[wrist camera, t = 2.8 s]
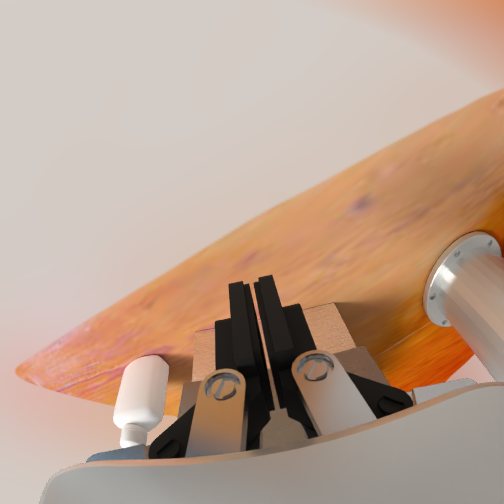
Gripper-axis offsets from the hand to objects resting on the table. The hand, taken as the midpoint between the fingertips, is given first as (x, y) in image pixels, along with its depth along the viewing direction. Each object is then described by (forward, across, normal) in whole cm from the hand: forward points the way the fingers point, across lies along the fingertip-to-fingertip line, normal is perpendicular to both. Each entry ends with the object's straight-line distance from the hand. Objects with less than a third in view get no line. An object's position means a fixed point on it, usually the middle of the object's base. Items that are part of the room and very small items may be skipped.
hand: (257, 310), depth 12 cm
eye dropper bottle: (+15, +14, +16) cm, 26 cm away
